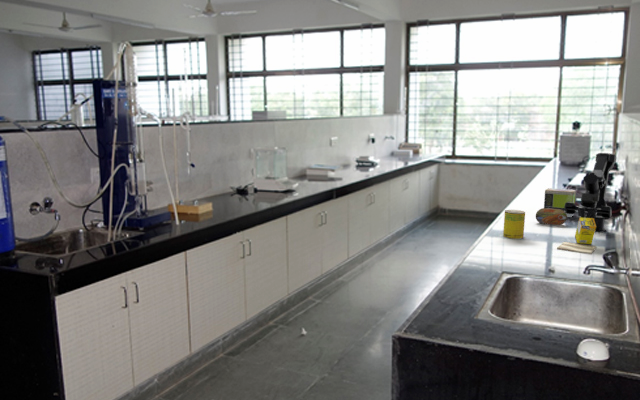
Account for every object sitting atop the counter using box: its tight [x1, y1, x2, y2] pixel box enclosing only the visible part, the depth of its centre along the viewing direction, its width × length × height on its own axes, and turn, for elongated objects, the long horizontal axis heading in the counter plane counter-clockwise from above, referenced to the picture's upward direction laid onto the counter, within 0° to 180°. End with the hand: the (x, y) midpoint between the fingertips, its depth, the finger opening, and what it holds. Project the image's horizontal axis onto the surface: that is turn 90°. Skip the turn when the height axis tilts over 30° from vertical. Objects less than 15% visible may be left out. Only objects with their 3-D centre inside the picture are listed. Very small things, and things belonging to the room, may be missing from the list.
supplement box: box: [574, 217, 596, 246], centre depth 229 cm, size 6×6×11 cm
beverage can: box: [502, 209, 526, 240], centre depth 244 cm, size 9×9×12 cm
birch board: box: [556, 241, 597, 255], centre depth 224 cm, size 13×13×1 cm
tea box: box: [543, 188, 577, 218], centre depth 295 cm, size 15×10×15 cm, turn 58°
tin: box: [535, 207, 568, 226], centre depth 272 cm, size 15×3×8 cm, turn 68°
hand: (583, 224), depth 231 cm, fingers closed
